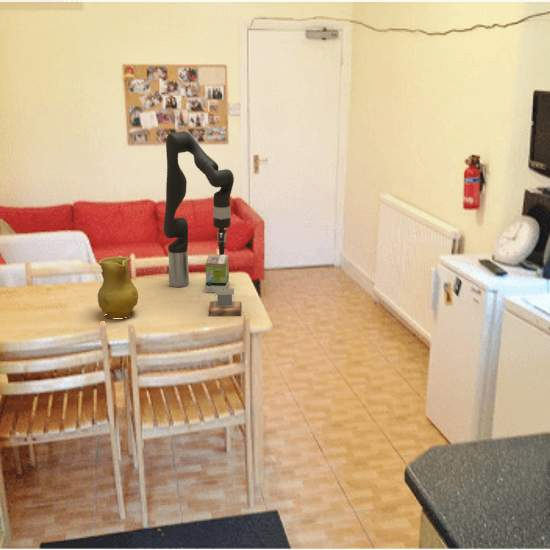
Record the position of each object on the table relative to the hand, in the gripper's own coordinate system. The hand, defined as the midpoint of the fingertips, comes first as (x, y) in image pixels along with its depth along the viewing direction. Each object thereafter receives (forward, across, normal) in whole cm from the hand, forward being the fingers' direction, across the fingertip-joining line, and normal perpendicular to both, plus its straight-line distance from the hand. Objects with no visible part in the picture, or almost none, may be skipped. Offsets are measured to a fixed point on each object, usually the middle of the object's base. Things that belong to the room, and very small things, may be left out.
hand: (222, 251), depth 299 cm
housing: (+22, +9, +2) cm, 24 cm away
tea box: (+26, -22, -4) cm, 34 cm away
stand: (+25, +9, +2) cm, 26 cm away
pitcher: (+26, +11, -44) cm, 52 cm away
